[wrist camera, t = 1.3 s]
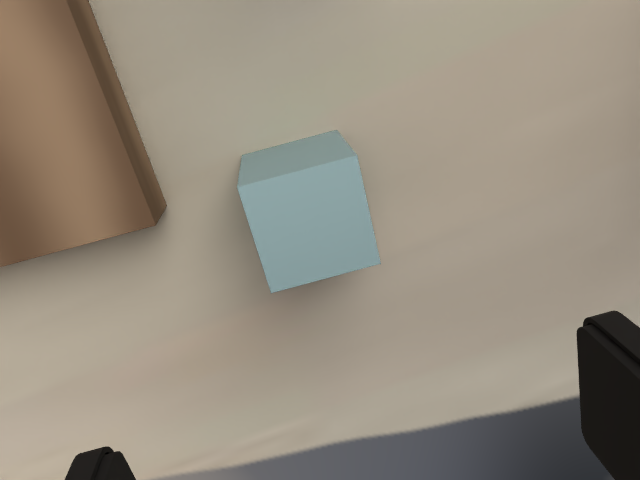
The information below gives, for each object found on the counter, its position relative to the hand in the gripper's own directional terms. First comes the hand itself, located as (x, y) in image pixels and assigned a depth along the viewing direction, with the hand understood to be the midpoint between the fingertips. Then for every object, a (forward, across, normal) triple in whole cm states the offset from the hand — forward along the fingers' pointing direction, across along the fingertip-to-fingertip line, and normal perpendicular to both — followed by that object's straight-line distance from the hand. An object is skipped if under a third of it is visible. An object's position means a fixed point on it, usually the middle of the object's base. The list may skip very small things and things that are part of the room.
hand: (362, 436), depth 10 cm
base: (+18, +13, -7) cm, 23 cm away
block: (+18, 0, 0) cm, 18 cm away
